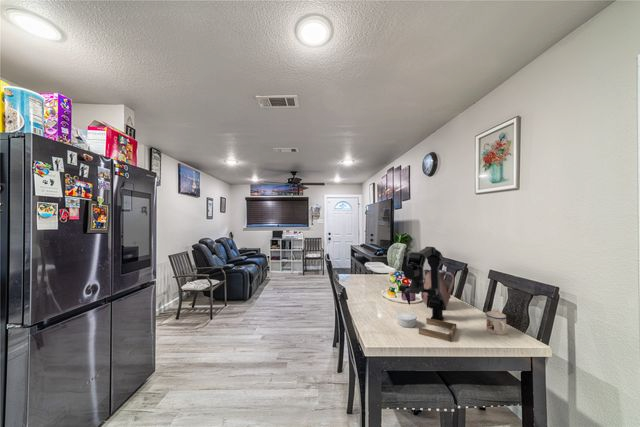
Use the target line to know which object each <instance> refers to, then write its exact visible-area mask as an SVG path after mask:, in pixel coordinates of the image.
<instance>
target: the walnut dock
mask: <svg viewBox="0 0 640 427" xmlns="http://www.w3.org/2000/svg"><path fill="white" fill-rule="evenodd" d="M425 321H426V325H430V326H434V327H439V328H444V329H448V330H449V329H450V331H449V332H448V333H445V332H441V331H437V330H433V329H428V328H424V327H421V326H420V327H418V335H422V336H425V337H430V338H433V339H438V340H442V341H446V342H449V343H451V342H452V341H453V338H454V336H455V334H456V332H457V330H458V329H457V323H453V322H449V321H444V320H443V321H440V320H435V319H431V317H430V318H429V317H428V318H427V317H426V320H425Z"/></svg>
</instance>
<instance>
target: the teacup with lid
mask: <svg viewBox="0 0 640 427" xmlns="http://www.w3.org/2000/svg"><path fill="white" fill-rule="evenodd" d="M485 315H486V316H485V317H486V318H485V319H486V321H485V322H486V330H487V332H488V333H489V334H490V333H491V334H493V335H499V336H504V335H507V315H506V314H504V313H503V312H501V311H499V310H498V309H497V308H494V309H493V310H491V311H486V312H485Z"/></svg>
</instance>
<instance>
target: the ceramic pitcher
mask: <svg viewBox="0 0 640 427" xmlns="http://www.w3.org/2000/svg"><path fill="white" fill-rule="evenodd" d="M423 273H424V277H423V278H424V280H423V284H424V289H429V288H430V287H431V269H423ZM446 275H450V277H451V283H450V286H449V287H448V286H447V284H446V281H445V276H446ZM439 278H440V293H441V294H442V296H443V300H444V302H445V304H446V307H447V306H448V304H449V301H450V299H451V291H452V289H453V287H454V285H455V281H456V280H455V278H456V277H455V275H454V274H453V273H452V272H450V271H446V270H443V269H439ZM427 295H428V293H426V292H420V296H421V301H422V302H423V304H424V305H425V306H427ZM428 308H429V306H428Z"/></svg>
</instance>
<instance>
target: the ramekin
mask: <svg viewBox="0 0 640 427" xmlns="http://www.w3.org/2000/svg"><path fill="white" fill-rule="evenodd" d="M395 316H396V320H397V324H398V326H400V327H403V328H405V329H406V328H409V329H412V328H415V326H416V324H417V318H418V317H417V315H416V314H414V313H413V312H407V311H405V312H404V311H402V312H401V311H400V312H397V313H396V315H395Z"/></svg>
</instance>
